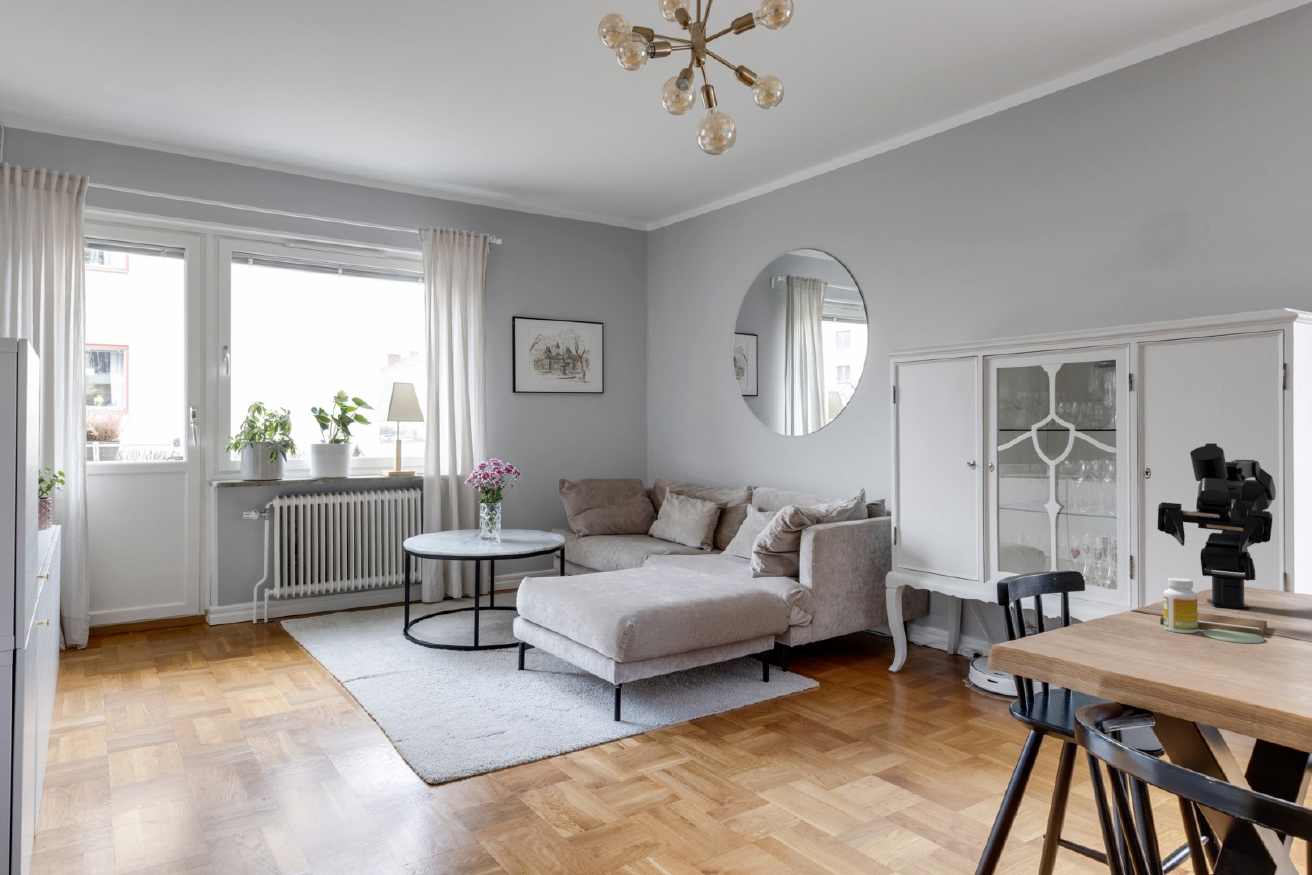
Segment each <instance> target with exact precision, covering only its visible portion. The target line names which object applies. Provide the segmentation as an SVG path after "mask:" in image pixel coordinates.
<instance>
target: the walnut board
mask: <svg viewBox="0 0 1312 875" xmlns="http://www.w3.org/2000/svg"><path fill="white" fill-rule="evenodd" d="M1197 616H1198V630H1202V631H1205V630H1210V629H1220V630H1228V631H1236V632H1244V633H1252V634H1256V635H1259V636H1262V637H1263V636H1264V634H1265V633H1266V630H1267V629H1268V621H1267V620H1261V619H1260V620H1259V619H1251V618H1246V617H1245V618H1243V617H1234V616H1228V615H1218V614H1211V613H1210V614H1209V613H1208V614H1207V613H1200V612H1197ZM1159 620H1160V625H1164V614H1163V615H1162V616H1161V617H1160V618H1159Z"/></svg>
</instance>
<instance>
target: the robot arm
mask: <svg viewBox="0 0 1312 875" xmlns="http://www.w3.org/2000/svg"><path fill="white" fill-rule="evenodd" d="M1189 453H1190V455H1189V456H1190V459H1191V464H1192V469H1193V473H1194V474H1193V475H1194V479H1195V481H1196V482H1200V483H1199V484H1198V490H1197V491H1198V492H1197V497H1196V508H1195V509H1196V511H1195V510H1194V511H1192V510H1182V503H1178V502H1177V503H1175V502H1165V501H1163V502H1161V503H1159V504H1158V508H1157V530H1158V531H1159V532H1163V533H1165V534H1167V535H1170V536H1172V537H1173V538H1174V539H1176V541H1177V542H1178V543H1179V544H1180V546H1182V547H1184V546H1185V538H1186V535H1185V528H1184V523H1190V524H1197V528H1198V529H1205V530H1214V531H1215V530H1216V531H1221V532H1211V533H1210V534H1209V535H1208V538H1207V541H1205V545H1204V547H1202V548H1201V551H1200V557H1199V558H1200V566H1201V575H1202V577H1211V595H1212V596H1211V597H1212V598H1208V599H1206V602H1207V603H1209V605H1212V606H1213V607H1216V608H1229V609H1230V608H1232V609H1249V610H1250V609H1251V606H1250V605H1248V604H1247V603H1245V581H1255V580H1256V569H1255V563H1254V559H1253V558H1252V556H1251V553H1250V552H1249V550H1248V548H1249V547H1250V546H1252V545H1254V544H1261V543H1268V542H1270V541H1271V536H1272V528H1273V514H1272V513H1271V512H1270V511H1267V509H1269V507H1271V504H1272V502H1273V501H1275V500H1276V496H1277V495H1276V493H1277V492H1276V485H1275V483H1274V479H1273V476H1272V475H1271V474H1270V473H1268V472H1267V471H1266V470H1264V469H1263V468H1261V465H1260V462H1259V461H1258V460H1255V459H1234V460H1230V461H1226V458H1225V457H1226V456H1225V450H1224V449H1223V448H1222V447H1220V446H1218V443H1214V442H1213V443H1209V442H1208V443H1205V445H1203V446H1202V445H1201V446H1200V447H1196V448H1194V449H1192V450H1191V451H1190V452H1189ZM1250 478H1254V479H1250Z"/></svg>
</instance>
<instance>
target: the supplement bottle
mask: <svg viewBox="0 0 1312 875" xmlns="http://www.w3.org/2000/svg"><path fill="white" fill-rule="evenodd" d="M1167 586H1168V589H1166V590H1164V591H1163V615H1164V624H1163V628H1164V629H1165V630H1166V631H1169V632H1173V633H1179V634H1195V633H1197V632H1198V630H1199V629H1198V616H1197V613H1198V594H1197V593H1196V592H1195V591H1193V590H1192V589H1193V587H1194V580H1193V579H1190V578H1182V577H1169V578H1167Z"/></svg>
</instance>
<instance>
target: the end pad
mask: <svg viewBox="0 0 1312 875" xmlns="http://www.w3.org/2000/svg"><path fill="white" fill-rule="evenodd" d="M1203 635H1204V636H1205V637H1207V638H1209V639H1213V640H1217V641H1221V642H1229V643H1235V644H1237V643H1238V644H1260V643H1263V642H1265V638H1264V637H1263V636H1259V635H1256V634H1252V633H1244V632H1236V631H1228V630H1220V629H1210V630H1203Z"/></svg>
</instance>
